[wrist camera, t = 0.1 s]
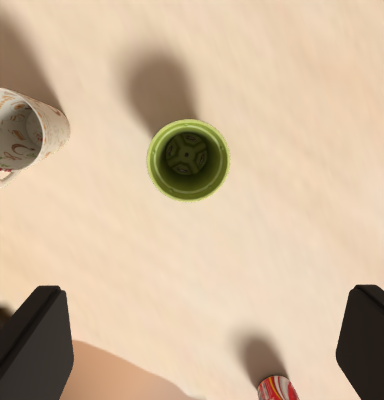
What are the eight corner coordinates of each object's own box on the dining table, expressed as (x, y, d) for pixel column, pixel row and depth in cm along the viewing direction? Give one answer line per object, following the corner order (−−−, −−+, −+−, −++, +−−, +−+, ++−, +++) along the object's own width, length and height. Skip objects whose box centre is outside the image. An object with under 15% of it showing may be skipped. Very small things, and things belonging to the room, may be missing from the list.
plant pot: (161, 111, 36) (156, 108, 28) (227, 129, 37) (240, 131, 29) (147, 177, 39) (139, 192, 31) (209, 191, 40) (217, 210, 32)
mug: (89, 117, 36) (57, 115, 27) (53, 194, 39) (12, 218, 29) (29, 83, 35) (-28, 68, 25) (-4, 166, 37) (-67, 181, 28)
